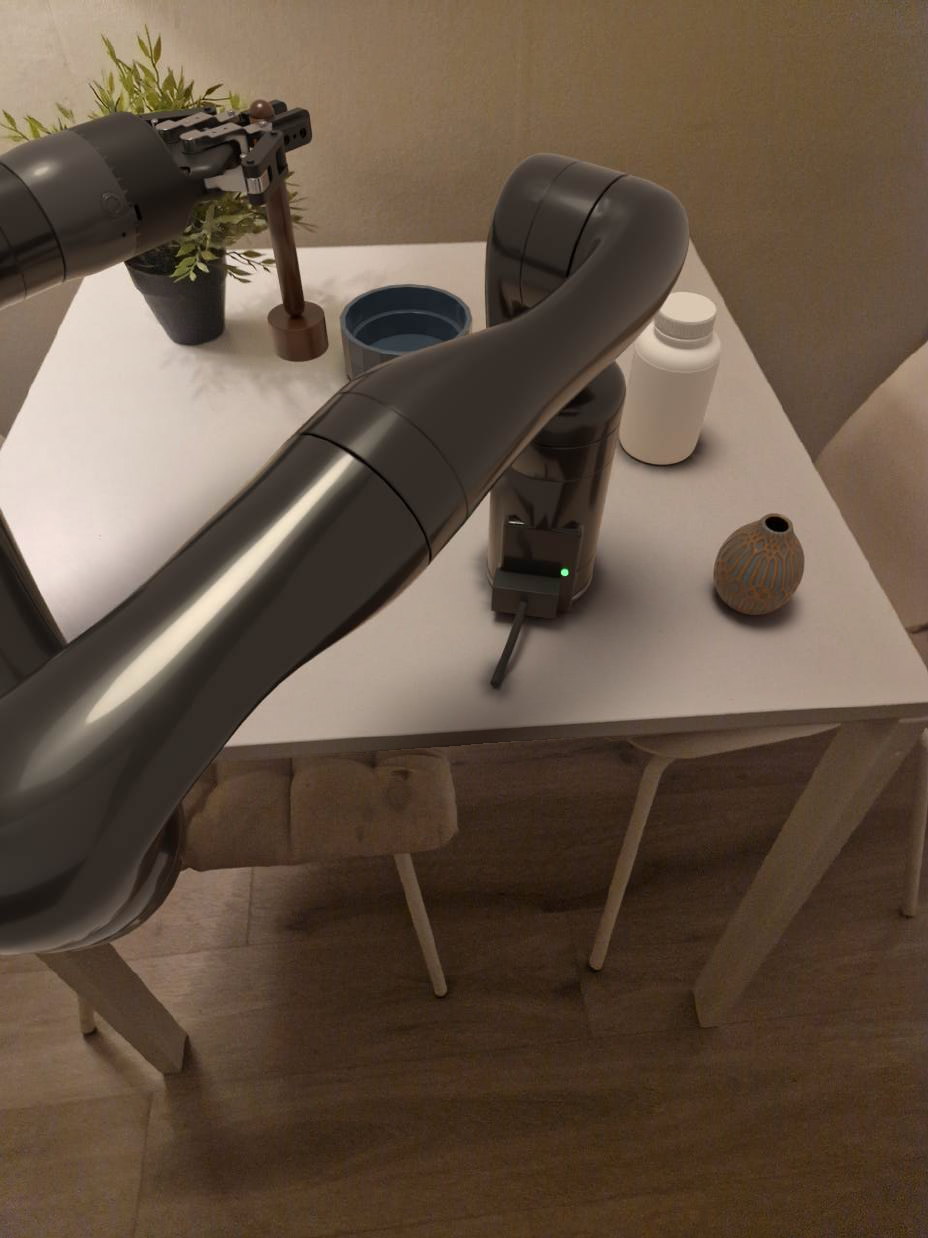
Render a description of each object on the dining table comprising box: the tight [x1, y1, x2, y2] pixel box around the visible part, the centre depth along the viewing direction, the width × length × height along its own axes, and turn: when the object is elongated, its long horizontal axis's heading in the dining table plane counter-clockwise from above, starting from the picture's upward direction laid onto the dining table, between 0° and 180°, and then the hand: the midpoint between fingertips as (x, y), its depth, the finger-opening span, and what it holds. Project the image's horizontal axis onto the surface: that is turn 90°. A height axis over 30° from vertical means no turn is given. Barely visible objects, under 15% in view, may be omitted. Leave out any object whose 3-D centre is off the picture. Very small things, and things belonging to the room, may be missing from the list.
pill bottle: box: [618, 291, 723, 466], centre depth 76 cm, size 8×8×15 cm
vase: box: [713, 512, 805, 616], centre depth 65 cm, size 7×7×9 cm
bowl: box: [339, 283, 473, 381], centre depth 88 cm, size 14×14×6 cm
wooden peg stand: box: [248, 98, 330, 363], centre depth 62 cm, size 5×5×19 cm
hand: (295, 119), depth 58 cm, fingers closed on wooden peg stand
